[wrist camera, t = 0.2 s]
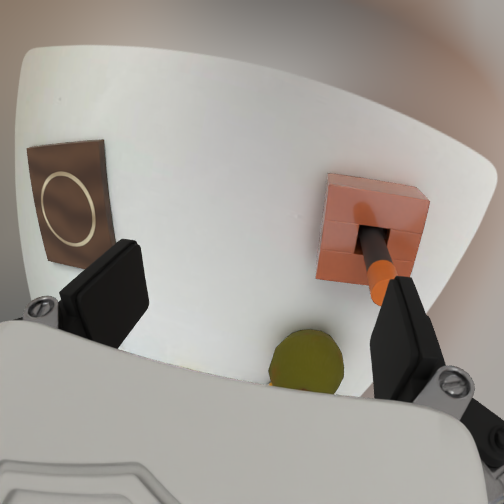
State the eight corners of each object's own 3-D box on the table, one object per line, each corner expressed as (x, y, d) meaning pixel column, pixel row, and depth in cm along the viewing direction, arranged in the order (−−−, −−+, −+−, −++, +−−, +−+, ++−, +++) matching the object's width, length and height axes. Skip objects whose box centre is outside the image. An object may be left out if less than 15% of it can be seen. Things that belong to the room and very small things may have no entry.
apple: (324, 305, 40) (321, 367, 30) (355, 351, 43) (356, 412, 33) (262, 331, 44) (245, 390, 35) (296, 372, 47) (287, 429, 37)
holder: (327, 172, 32) (328, 184, 28) (416, 186, 31) (430, 201, 26) (316, 256, 37) (315, 278, 33) (397, 267, 35) (405, 290, 31)
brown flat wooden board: (31, 146, 38) (25, 148, 37) (104, 139, 36) (97, 141, 34) (52, 257, 48) (47, 261, 46) (121, 272, 45) (116, 277, 44)
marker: (357, 210, 33) (375, 277, 21) (378, 214, 33) (406, 281, 21) (353, 231, 35) (367, 305, 22) (374, 234, 34) (397, 308, 22)
